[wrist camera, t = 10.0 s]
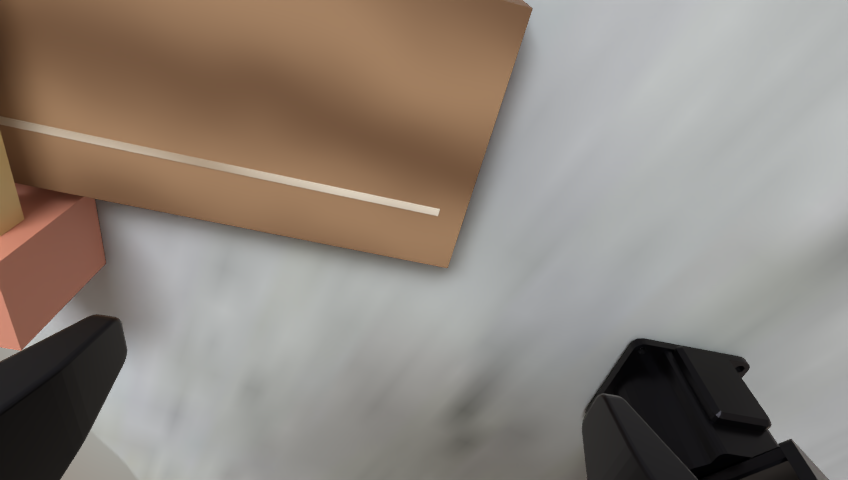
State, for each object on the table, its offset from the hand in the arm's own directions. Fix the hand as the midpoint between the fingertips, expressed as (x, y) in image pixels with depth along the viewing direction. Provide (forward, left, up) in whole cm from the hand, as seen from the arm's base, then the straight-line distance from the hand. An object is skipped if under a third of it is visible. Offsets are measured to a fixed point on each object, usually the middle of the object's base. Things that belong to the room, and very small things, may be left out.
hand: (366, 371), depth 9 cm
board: (+1, +7, -12) cm, 14 cm away
